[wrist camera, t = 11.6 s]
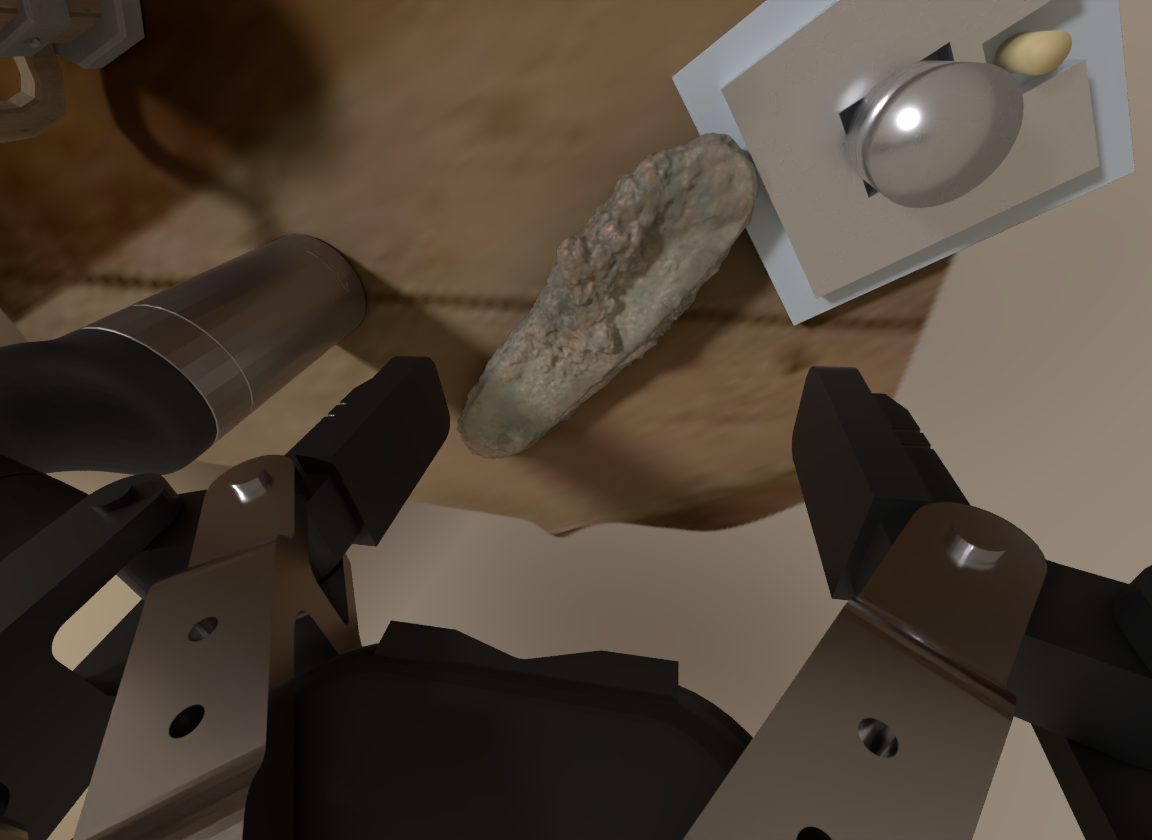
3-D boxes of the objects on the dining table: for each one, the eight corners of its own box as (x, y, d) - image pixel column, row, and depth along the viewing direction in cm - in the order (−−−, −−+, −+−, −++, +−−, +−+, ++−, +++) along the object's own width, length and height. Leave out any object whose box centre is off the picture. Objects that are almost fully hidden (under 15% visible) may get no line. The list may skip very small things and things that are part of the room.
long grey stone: (447, 402, 50) (525, 451, 52) (424, 438, 46) (509, 488, 49) (675, 75, 26) (796, 193, 29) (666, 95, 22) (806, 228, 25)
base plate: (790, 316, 35) (800, 345, 32) (672, 76, 28) (669, 80, 24) (1115, 166, 26) (1178, 183, 23) (1069, -247, 19) (1151, -312, 15)
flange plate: (811, 289, 32) (832, 334, 27) (719, 87, 27) (725, 97, 21) (1080, 160, 25) (1175, 188, 20) (1034, -151, 20) (1151, -221, 15)
